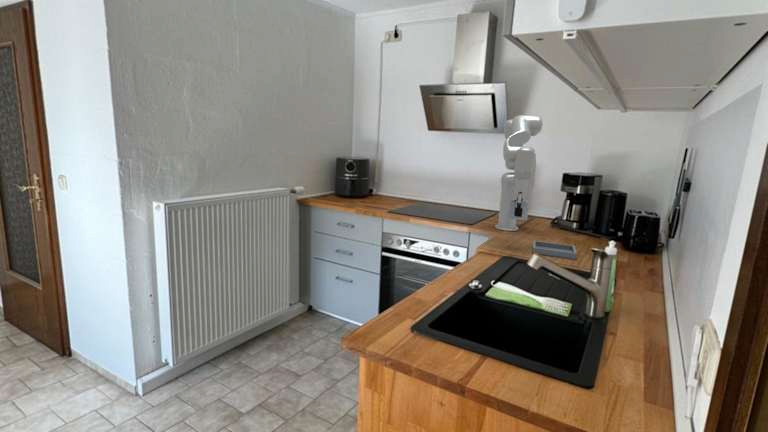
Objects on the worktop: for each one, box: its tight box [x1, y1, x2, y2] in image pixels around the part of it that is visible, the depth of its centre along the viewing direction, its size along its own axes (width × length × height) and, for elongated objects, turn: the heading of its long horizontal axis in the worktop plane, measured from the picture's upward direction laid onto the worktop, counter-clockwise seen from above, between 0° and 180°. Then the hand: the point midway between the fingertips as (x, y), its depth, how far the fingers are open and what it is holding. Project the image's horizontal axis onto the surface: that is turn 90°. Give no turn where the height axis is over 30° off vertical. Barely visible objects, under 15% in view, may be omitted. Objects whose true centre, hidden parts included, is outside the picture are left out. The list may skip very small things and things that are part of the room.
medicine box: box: [508, 199, 530, 222], centre depth 187 cm, size 8×4×9 cm, turn 65°
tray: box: [532, 240, 578, 260], centre depth 187 cm, size 14×18×3 cm
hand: (518, 214), depth 188 cm, fingers closed on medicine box, 4 cm apart
